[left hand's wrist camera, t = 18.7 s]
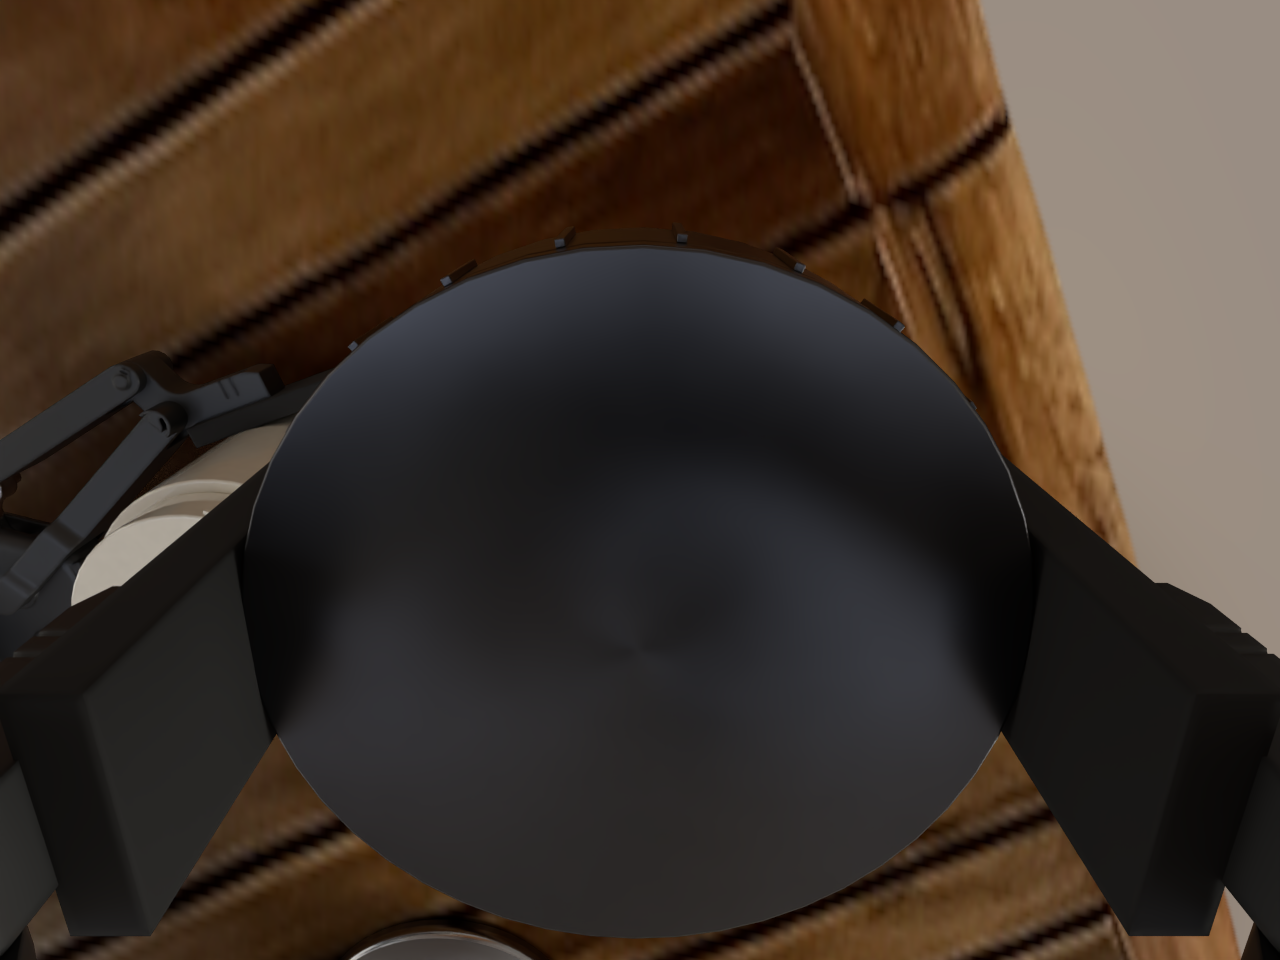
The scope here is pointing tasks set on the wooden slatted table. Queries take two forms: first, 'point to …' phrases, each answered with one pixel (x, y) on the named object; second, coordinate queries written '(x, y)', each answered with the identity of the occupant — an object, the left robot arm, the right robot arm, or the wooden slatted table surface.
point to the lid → (638, 586)
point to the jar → (175, 507)
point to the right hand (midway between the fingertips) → (415, 480)
